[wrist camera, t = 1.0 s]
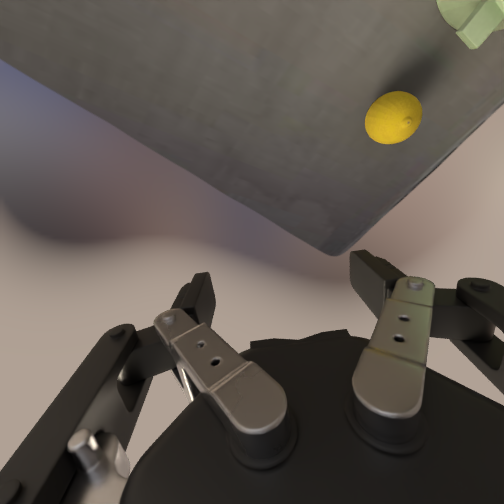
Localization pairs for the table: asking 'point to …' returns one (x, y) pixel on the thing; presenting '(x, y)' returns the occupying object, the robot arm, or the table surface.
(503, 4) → the lid
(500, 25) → the pot
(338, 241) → the table surface
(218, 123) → the table surface
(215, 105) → the table surface
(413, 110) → the lemon
